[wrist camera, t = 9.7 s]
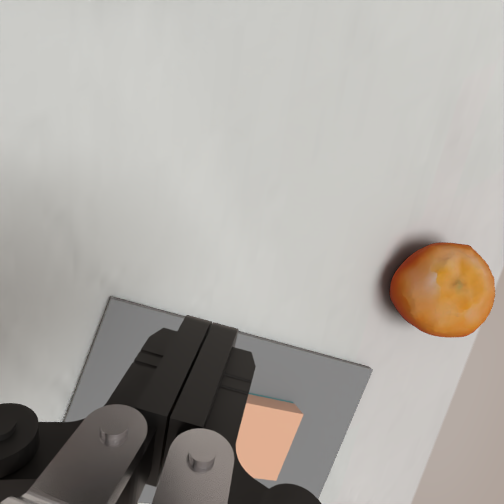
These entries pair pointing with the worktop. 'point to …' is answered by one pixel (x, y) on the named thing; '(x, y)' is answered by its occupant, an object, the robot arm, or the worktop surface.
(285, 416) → the tile
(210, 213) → the worktop surface
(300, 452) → the mat
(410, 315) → the fruit
